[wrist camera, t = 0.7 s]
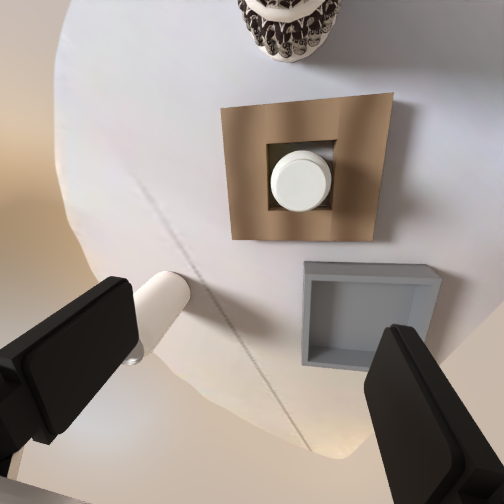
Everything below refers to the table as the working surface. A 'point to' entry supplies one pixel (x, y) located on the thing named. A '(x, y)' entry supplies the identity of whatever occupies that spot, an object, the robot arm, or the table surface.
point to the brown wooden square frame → (307, 130)
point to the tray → (361, 309)
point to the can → (157, 311)
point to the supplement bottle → (301, 181)
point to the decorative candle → (289, 25)
